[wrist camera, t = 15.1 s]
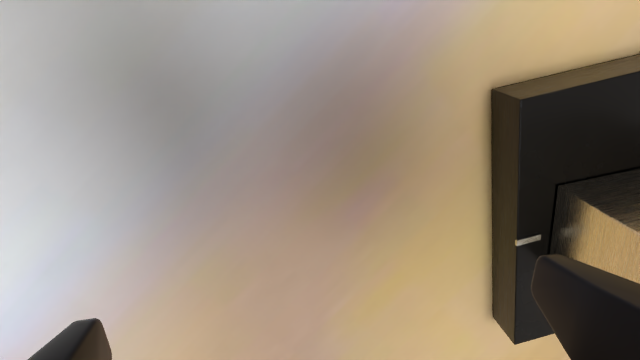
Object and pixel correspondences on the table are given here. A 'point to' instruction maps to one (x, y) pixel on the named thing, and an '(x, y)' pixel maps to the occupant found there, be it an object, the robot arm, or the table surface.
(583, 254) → the brushed aluminum block
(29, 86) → the table surface
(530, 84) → the dial plate
